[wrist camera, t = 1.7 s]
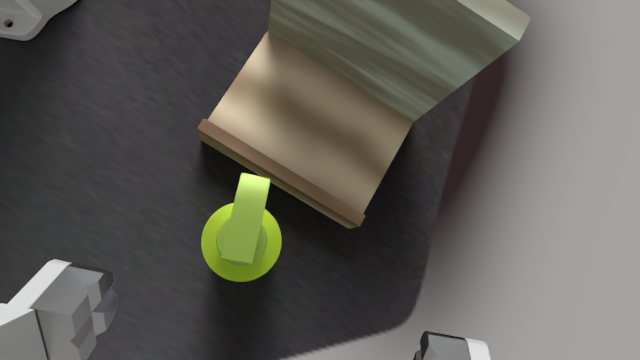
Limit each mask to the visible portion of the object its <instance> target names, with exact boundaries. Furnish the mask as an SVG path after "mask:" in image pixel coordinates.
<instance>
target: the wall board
mask: <svg viewBox="0 0 640 360" xmlns="http://www.w3.org/2000/svg"><path fill="white" fill-rule="evenodd" d="M530 19H531V17H529V16H528V15H527V14H525V13H523V12H522V11H520V10H519V9H517V8H516V7H514V6H513V5H511V4H510V3H508V2H507V1H505V0H271V8H270V17H269V26H268V31H267V33H266V34H265V36H264V37H263V39H262V40H261V42H260V43H259V45H258V46H257V48H256V49H255V51H254V52H253V53H252V55H251V56H250V58H249V59H248V61H247V62H246V64H245V65H244V67H243V68H242V70H241V71H240V73H239V74H238V76H237V77H236V79H235V80H234V82H233V83H232V85H231V86H230V88H229V89H228V91H227V92H226V94H225V95H224V97H223V98H222V100H221V101H220V102H219V104H218V105H217V107H216V108H215V110H214V111H213V113H212V114H211V116H210V117H209V119H208V120H207V119H205V118H204V119H203V120H202V122H201V123H200V125H199V126H198V128H197V130H198V132H199V135H200V138H201V141H203V142H205V143H206V144H208V145H210V146H211V147H213V148H215V149H216V150H218V151H220V152H221V153H223V154H225V155H226V156H228V157H230V158H231V159H233V160H235V161H236V162H238V163H240V164H241V165H243V166H245V167H246V168H248V169H250V170H251V171H253V172H255V173H256V174H258V175H260V176H261V177H266V178H269V179H271V181H270V182H271V183H273V184H275V185H276V186H278V187H280V188H281V189H283V190H285V191H286V192H288V193H290V194H291V195H293V196H295V197H296V198H298V199H300V200H301V201H303V202H305V203H306V204H308V205H310V206H311V207H313V208H315V209H316V210H318V211H320V212H321V213H323V214H325V215H326V216H328V217H330V218H331V219H333V220H335V221H336V222H338V223H340V224H341V225H343V226H345V227H346V228H348V229H351V228H355V227H360V225H361V223H362V222H363V220H364V218H365V215H364V214H363V213H364V211H365V209H366V207H367V206H368V204H369V202H370V200H371V198H372V196H373V195H374V193H375V191H376V189H377V187H378V186H379V184H380V182H381V180H382V178H383V177H384V175H385V173H386V171H387V169H388V167H389V166H390V164H391V162H392V160H393V158H394V157H395V155H396V153H397V151H398V149H399V148H400V146H401V144H402V142H403V140H404V139H405V137H406V135H407V133H408V131H409V129H410V128H411V126H412V124H413V122H414V121H415V120H417V119H418V118H419V117H421V116H422V115H423V114H424V113H426V112H427V111H428V110H430V109H431V108H432V107H434V106H435V105H436V104H438V103H439V102H440V101H441V100H443V99H444V98H445V97H447V96H448V95H449V94H451V93H452V92H453V91H455V90H456V89H457V88H458V87H460V86H461V85H462V84H464V83H465V82H466V81H468V80H469V79H470V78H472V77H473V76H474V75H475V74H477V73H478V72H479V71H480V70H482V69H483V68H485V67H486V66H487V65H489V64H490V63H491V62H492V61H494V60H495V59H496V58H498V57H499V56H500V55H502V54H503V53H504V52H505V51H507V50H508V49H509V48H511V47H512V46H513V45H515V44H516V43H517V42H518V41H520V39H521V37H522V35H523V33H524V31H525V29H526V27H527V25H528V23H529V21H530Z"/></svg>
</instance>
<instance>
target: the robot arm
mask: <svg viewBox="0 0 640 360" xmlns="http://www.w3.org/2000/svg"><path fill="white" fill-rule="evenodd" d="M76 1H77V0H0V37H3V38H9V39H15V40H21V41H26V40H30V39H32V38H33V37H35V36H36V35H37V34H38V33H39V32H40V31H41V29H42V28H43V27H44V25H45V24H46V23H47V21H48V20H49V19H50V18H51V17H52V16H54V15H56V14H57V13H59V12H61V11H62V10H64V9H66V8H68V7H69V6H71V5H72V4H73V3H75V2H76ZM10 23H13V26H11V27H9V28H8V27H7V26H8V24H10ZM113 283H114V276H113V272H111V271H108V270H103V269H99V268H94V267H90V266H85V265H81V264H76V263H70V262H65V261H61V260H56V259H54V260H51V261H49V262H47V263H46V264H45V265H44V266H43V268H42V269H41V270H40V271H39V272H38V273H37V274H36V275H35V276H34V277H33V278H32V279H31V280H30V281H29V282H28V283H27V284H26V285H25V286H24V287H23V288H22V289H21V290H20V291H19V292H18V293H17V294H16V295H15V297H14V298H13V299H12V300H11V301H10V302H9V303H8V304H3V303H1V304H0V360H86V359H87V358H88V356H89V355H90V353H91V352H92V350H93V349H94V347H95V346H96V338H95V336H96V335H98V334H100V333H102V332H104V331H105V330H106V329H107V328H108V326H109V325H110V323H111V321H112V319H113V316H114V314H115V311H116V305H117V298H116V294H115V292H114V291H113V290H112V289H111V288H110V287H111V286H112V285H113ZM420 345H421V350H419V351H417V352H416V353H415V356H414V359H413V360H491V358H490V354H489V350H488V346H487V344H486V343H485V342H483V341H478V340H472V339H467V338H462V337H457V336H451V335H446V334H440V333H435V332H429V331H425V332H424V333H423V335H422V337H421V340H420Z"/></svg>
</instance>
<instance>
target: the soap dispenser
mask: <svg viewBox="0 0 640 360" xmlns="http://www.w3.org/2000/svg"><path fill="white" fill-rule="evenodd" d="M270 181H271V179H269V178H266V177H261V176H257V175H252V174H248V173H241V176H240V180H239V184H238V188H237V192H236V196H235V200H234V203H231V204H228V205H226V206H224V207H222V208H220V209H219V210H217V211H216V212H215V213H214V214H213V215H212V216H211V217H210V218H209V220H208V221H207V223H206V225H205V227H204V230H203V233H202V239H201V246H202V252H203V256H204V258H205V260H206V262H207V264H208V265H209V267H210V268H211V269H212V270H213V271H214V272H215V273H216V274H218V275H219V276H221V277H223V278H225V279H227V280H231V281H236V282H245V281H250V280H254V279H256V278H259V277H261V276H262V275H264V274H265V273H266V272H268V271H269V270H270V269H271V268H272V266H273V265H274V264H275V262H276V260H277V259H278V256H279V254H280V250H281V244H282V238H281V232H280V228H279V226H278V224H277V222H276V220H275V218H274V217H273V216H272V215H271V214H270V213H269V212H268V211H267V210H266V209H265V205H266V200H267V195H268V191H269V186H270Z"/></svg>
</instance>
